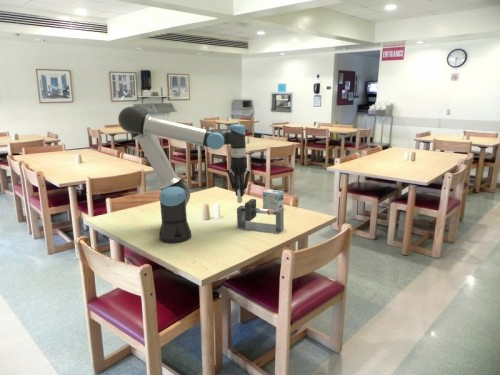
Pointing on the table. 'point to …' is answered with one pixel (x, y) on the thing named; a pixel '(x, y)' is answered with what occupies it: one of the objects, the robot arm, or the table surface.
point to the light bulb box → (273, 199)
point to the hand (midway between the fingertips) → (239, 202)
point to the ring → (248, 213)
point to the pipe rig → (260, 226)
